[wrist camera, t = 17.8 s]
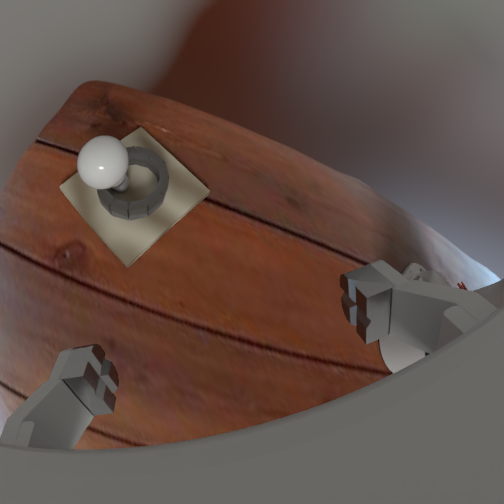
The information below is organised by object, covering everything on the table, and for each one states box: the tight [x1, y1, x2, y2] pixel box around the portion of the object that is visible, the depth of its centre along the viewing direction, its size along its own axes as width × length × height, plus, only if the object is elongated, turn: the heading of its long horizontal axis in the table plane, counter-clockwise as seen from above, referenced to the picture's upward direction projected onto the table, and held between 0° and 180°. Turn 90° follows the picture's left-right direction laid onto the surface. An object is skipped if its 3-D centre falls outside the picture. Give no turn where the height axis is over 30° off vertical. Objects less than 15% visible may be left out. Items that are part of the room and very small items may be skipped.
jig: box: [60, 127, 210, 268], centre depth 38 cm, size 16×16×4 cm
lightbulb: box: [77, 135, 129, 192], centre depth 32 cm, size 6×6×11 cm
